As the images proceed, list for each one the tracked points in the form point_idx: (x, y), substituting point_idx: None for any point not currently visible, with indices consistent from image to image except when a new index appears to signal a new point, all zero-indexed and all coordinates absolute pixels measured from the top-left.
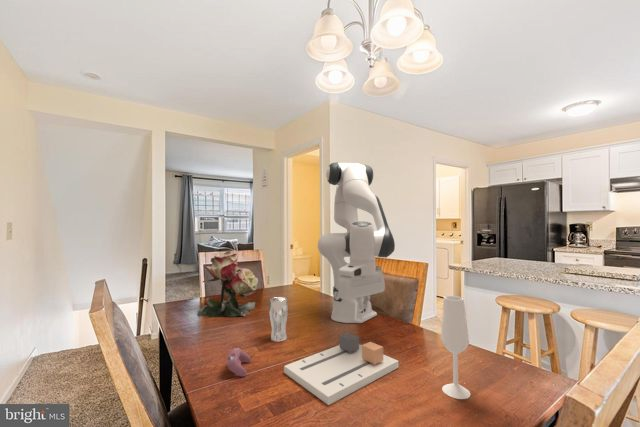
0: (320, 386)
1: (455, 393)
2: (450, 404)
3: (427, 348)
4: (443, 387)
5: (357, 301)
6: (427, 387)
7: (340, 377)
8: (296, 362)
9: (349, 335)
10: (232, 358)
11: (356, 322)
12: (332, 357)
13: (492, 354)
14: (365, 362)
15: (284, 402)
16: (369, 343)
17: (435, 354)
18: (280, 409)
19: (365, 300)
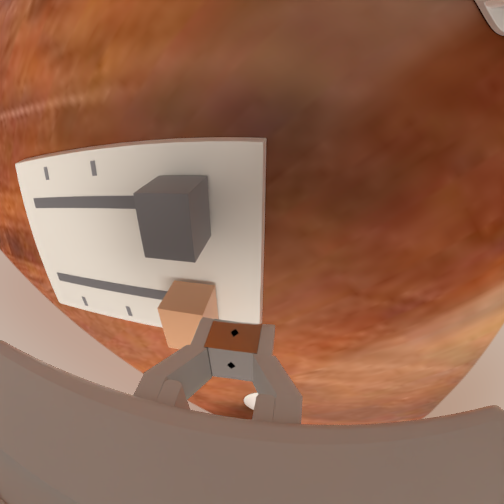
0: (53, 277)
1: (250, 407)
2: (225, 402)
3: (423, 328)
4: (257, 395)
5: (166, 363)
6: (238, 380)
7: (90, 286)
8: (34, 165)
9: (171, 224)
10: None
11: (483, 12)
12: (109, 207)
13: (443, 396)
14: None
15: (20, 242)
16: (188, 320)
17: (395, 351)
18: (17, 251)
19: (262, 387)
